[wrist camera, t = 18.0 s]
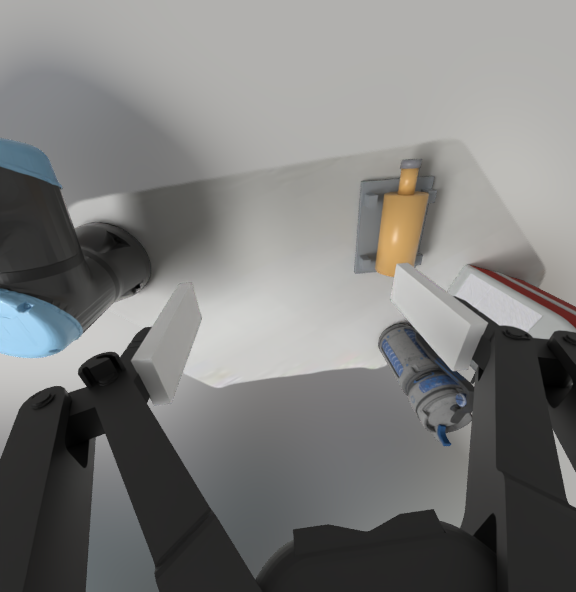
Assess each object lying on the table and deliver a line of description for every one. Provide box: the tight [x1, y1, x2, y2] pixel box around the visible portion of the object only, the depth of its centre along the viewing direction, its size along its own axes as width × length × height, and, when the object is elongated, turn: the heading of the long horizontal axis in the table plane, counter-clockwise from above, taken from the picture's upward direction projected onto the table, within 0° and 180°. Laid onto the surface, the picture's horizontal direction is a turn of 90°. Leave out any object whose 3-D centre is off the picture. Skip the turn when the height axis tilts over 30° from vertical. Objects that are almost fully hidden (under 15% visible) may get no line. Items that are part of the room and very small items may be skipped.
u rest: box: [354, 176, 437, 274], centre depth 48 cm, size 18×13×4 cm
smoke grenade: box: [378, 324, 474, 446], centre depth 53 cm, size 10×13×25 cm
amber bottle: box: [375, 159, 429, 277], centre depth 45 cm, size 19×7×7 cm, turn 4°
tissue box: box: [447, 264, 576, 384], centre depth 49 cm, size 16×18×27 cm
